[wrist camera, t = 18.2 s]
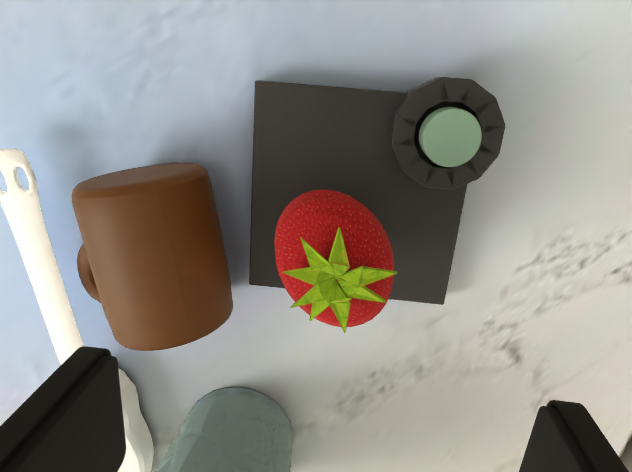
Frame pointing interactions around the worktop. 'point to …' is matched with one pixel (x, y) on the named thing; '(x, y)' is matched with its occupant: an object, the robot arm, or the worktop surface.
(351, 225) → the strawberry
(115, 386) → the robot arm
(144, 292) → the mug
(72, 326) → the spatula
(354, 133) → the scale
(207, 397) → the green plant pot
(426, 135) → the button
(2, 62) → the worktop surface
